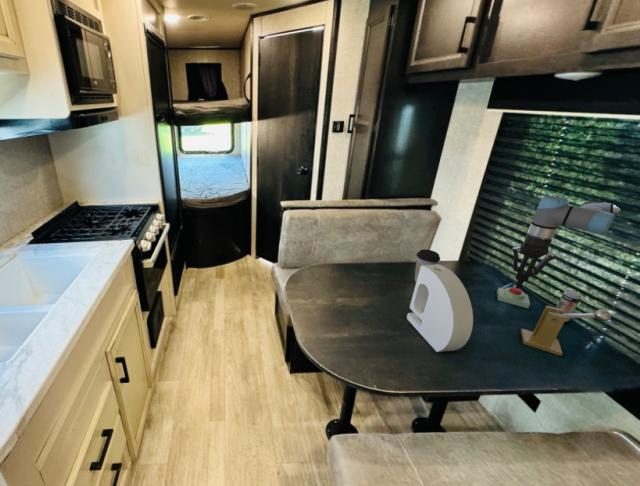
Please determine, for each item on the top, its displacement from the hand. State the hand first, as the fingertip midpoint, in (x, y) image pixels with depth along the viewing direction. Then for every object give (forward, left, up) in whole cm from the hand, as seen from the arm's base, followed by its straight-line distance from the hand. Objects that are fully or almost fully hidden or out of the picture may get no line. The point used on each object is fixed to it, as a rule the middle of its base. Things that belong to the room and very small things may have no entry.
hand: (518, 286), depth 131 cm
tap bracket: (-6, +27, -7) cm, 28 cm away
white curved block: (+26, +45, -7) cm, 52 cm away
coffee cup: (+34, +6, -7) cm, 35 cm away
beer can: (-14, +5, -7) cm, 17 cm away
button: (0, 0, -3) cm, 3 cm away
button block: (0, 0, -7) cm, 7 cm away
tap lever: (-12, +27, +6) cm, 30 cm away
